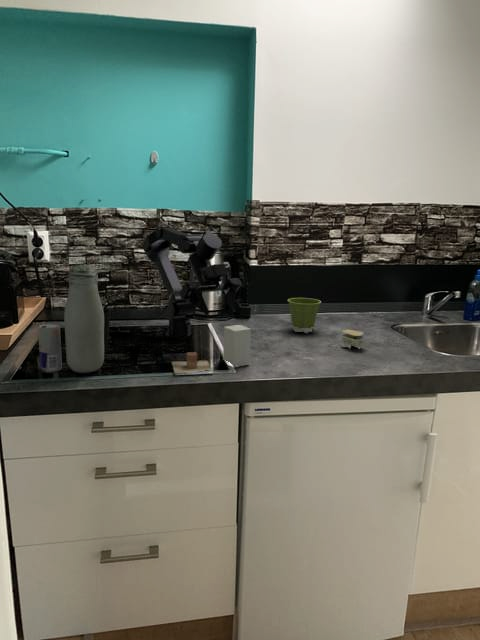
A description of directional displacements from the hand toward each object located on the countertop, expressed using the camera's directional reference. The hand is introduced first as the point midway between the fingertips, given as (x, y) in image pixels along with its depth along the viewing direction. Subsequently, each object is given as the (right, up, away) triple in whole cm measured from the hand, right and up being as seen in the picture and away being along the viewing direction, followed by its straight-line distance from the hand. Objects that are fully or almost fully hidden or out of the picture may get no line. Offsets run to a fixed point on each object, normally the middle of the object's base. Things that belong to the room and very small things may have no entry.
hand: (221, 312), depth 151 cm
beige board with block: (-8, -16, -9) cm, 20 cm away
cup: (-37, -11, +5) cm, 39 cm away
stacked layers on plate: (+41, -12, +16) cm, 46 cm away
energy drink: (-45, -16, -13) cm, 49 cm away
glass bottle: (-35, -16, -13) cm, 41 cm away
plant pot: (+28, -6, +35) cm, 45 cm away
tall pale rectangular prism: (+4, -15, -3) cm, 16 cm away
